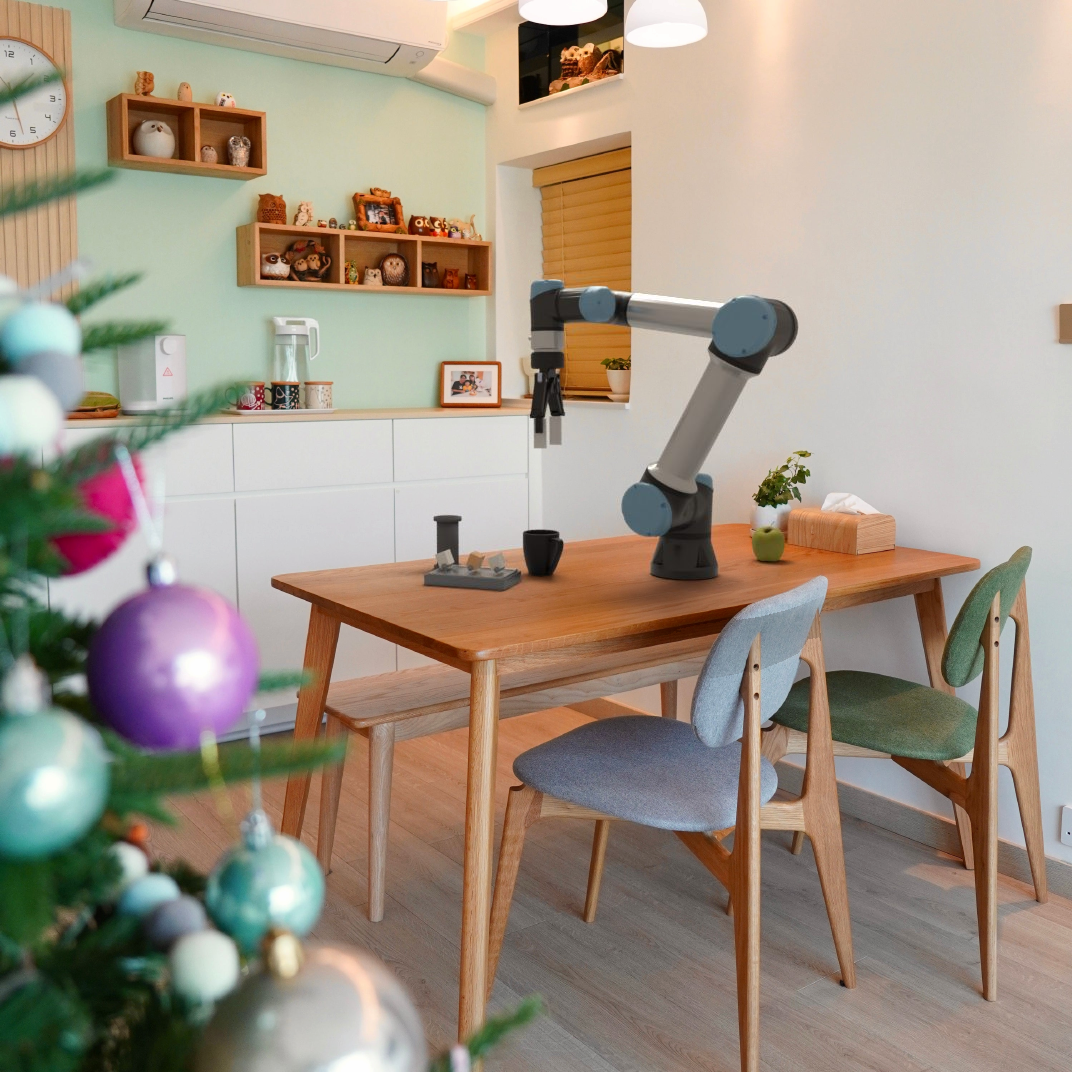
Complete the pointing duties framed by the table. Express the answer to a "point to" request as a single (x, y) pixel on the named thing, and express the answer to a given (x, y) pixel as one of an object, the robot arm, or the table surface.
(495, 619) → the table surface
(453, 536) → the dark grey flanged cylinder
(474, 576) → the breaker strip
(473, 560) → the paddle mid
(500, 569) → the paddle
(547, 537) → the mug
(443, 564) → the paddle
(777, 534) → the apple
